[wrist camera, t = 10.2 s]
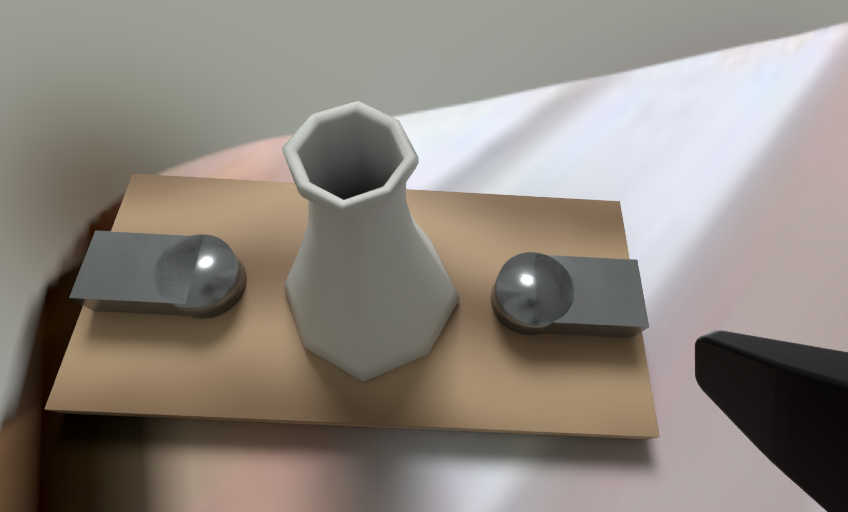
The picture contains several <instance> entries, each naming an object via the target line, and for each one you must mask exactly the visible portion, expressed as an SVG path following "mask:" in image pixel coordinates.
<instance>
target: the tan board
mask: <svg viewBox="0 0 848 512" xmlns="http://www.w3.org/2000/svg"><path fill="white" fill-rule="evenodd" d="M406 202H407V205H408V208H409V211H410V214H411V216H412V217H413V219H414V220H415V222H416V223H417V224H418V226H419V227H420V228H421V229H422V230H423V232H424V233H425V234H426V235H427V236H428V238H429V239H430V240H431V242H432V243H433V245H434V247H435V249H436V251H437V253H438V255H439V257H440V259H441V261H442V263H443V265H444V267H445V269H446V271H447V273H448V275H449V277H450V279H451V281H452V283H453V285H454V287H455V289H456V291H457V293H458V295H459V297H460V299H459V301H458V303H457V304H456V306H455V308H454V310H453V311H452V313H451V315H450V317H449V318H448V320H447V322H446V324H445V326H444V327H443V329H442V331H441V333H440V334H439V336H438V338H437V340H436V341H435V343H434V345H433V347H432V349H431V350H430V352H429V354H428V355H425V356H423V357H421V358H418V359H416V360H414V361H411V362H409V363H407V364H404V365H402V366H400V367H397V368H395V369H393V370H390V371H388V372H386V373H383V374H381V375H379V376H376V377H374V378H372V379H369V380H367V381H365V382H362V381H360V380H358V379H357V378H355V377H353V376H352V375H350V374H348V373H347V372H345V371H343V370H342V369H340V368H338V367H337V366H335V365H333V364H332V363H330V362H328V361H327V360H325V359H323V358H321V357H320V356H318V355H316V354H315V353H313V352H311V351H310V350H308V349H306V348H305V347H304V346H303V343H302V340H301V337H300V334H299V331H298V328H297V325H296V322H295V319H294V316H293V313H292V310H291V307H290V304H289V301H288V298H287V295H286V292H285V289H284V285H285V282H286V280H287V277H288V275H289V273H290V271H291V268H292V266H293V264H294V262H295V260H296V257H297V255H298V252H299V249H300V246H301V243H302V240H303V237H304V235H305V232H306V229H307V226H308V200H307V199H305V198H303V197H302V196H301V195H300V194H299V192H298V190H297V187H296V185H295V183H285V182H267V181H249V180H232V179H214V178H196V177H179V176H161V175H143V174H132V177H131V180H130V182H129V185H128V188H127V190H126V193H125V196H124V198H123V201H122V204H121V206H120V209H119V212H118V214H117V217H116V220H115V222H114V225H113V228H112V230H111V232H129V233H147V234H166V235H185V236H192V235H199V234H205V235H211V236H215V237H218V238H220V239H221V240H223V241H224V242H226V243H227V244H228V245H229V247H230V248H231V249H232V251H233V252H234V253H235V255H236V256H237V257H238V259H239V260H240V261H241V263H242V264H243V266H244V268H245V271H246V275H247V283H246V288H245V291H244V293H243V295H242V297H241V299H240V300H239V301H238V302H237V304H236V305H235V306H234V307H232V308H231V309H230V310H228V311H227V312H225V313H223V314H221V315H219V316H216V317H213V318H207V319H198V318H193V317H190V316H180V315H160V314H140V313H120V312H100V311H92V310H90V309H89V308H87V307H85V306H83V308H82V311H81V313H80V316H79V319H78V321H77V324H76V327H75V329H74V332H73V335H72V337H71V340H70V343H69V345H68V348H67V351H66V353H65V356H64V359H63V361H62V364H61V367H60V369H59V372H58V375H57V378H56V380H55V383H54V386H53V388H52V391H51V394H50V396H49V399H48V402H47V404H46V407H45V410H51V411H56V412H61V413H69V414H91V415H113V416H135V417H158V418H180V419H202V420H224V421H247V422H269V423H291V424H313V425H336V426H358V427H380V428H402V429H425V430H447V431H469V432H491V433H514V434H536V435H558V436H580V437H602V438H625V439H651V438H657V437H659V431H658V425H657V420H656V414H655V408H654V402H653V396H652V390H651V384H650V378H649V372H648V366H647V360H646V354H645V348H644V342H643V336H642V332H640V333H639V334H637V335H636V336H634V337H632V338H621V337H601V336H581V335H561V334H537V335H523V334H519V333H516V332H514V331H512V330H510V329H509V328H507V327H506V326H505V325H503V324H502V323H501V322H500V320H499V319H498V318H497V316H496V315H495V313H494V311H493V308H492V304H491V291H492V287H493V285H494V283H495V281H496V278H497V276H498V274H499V272H500V270H501V268H502V267H503V265H504V264H505V263H506V262H507V261H508V260H509V259H510V258H512V257H514V256H515V255H518V254H521V253H526V252H536V253H542V254H545V255H556V256H575V257H594V258H612V259H629V253H628V247H627V241H626V235H625V230H624V224H623V218H622V212H621V206H620V201H603V200H585V199H567V198H550V197H532V196H514V195H497V194H479V193H461V192H444V191H426V190H408V189H406Z"/></svg>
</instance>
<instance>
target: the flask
mask: <svg viewBox="0 0 848 512" xmlns="http://www.w3.org/2000/svg"><path fill="white" fill-rule="evenodd" d="M282 150H283V153H284V156H285V159H286V161H287V164H288V166H289V169H290V172H291V174H292V177H293V179H294V182H295V185H296V187H297V190H298V192H299V194H300V195H301V196H302V197H303V198H305V199H307V200H308V226H307V229H306V232H305V235H304V237H303V240H302V243H301V246H300V249H299V252H298V255H297V257H296V260H295V262H294V264H293V266H292V268H291V271H290V273H289V275H288V277H287V280H286V282H285V285H284V289H285V292H286V295H287V298H288V301H289V304H290V307H291V310H292V313H293V316H294V319H295V322H296V325H297V328H298V331H299V334H300V337H301V340H302V343H303V346H304V347H305V348H306V349H308V350H310V351H311V352H313V353H315V354H316V355H318V356H320V357H321V358H323V359H325V360H327V361H328V362H330V363H332V364H333V365H335V366H337V367H338V368H340V369H342V370H343V371H345V372H347V373H348V374H350V375H352V376H353V377H355V378H357V379H358V380H360V381H362V382H365V381H367V380H369V379H372V378H374V377H376V376H379V375H381V374H383V373H386V372H388V371H390V370H393V369H395V368H397V367H400V366H402V365H404V364H407V363H409V362H411V361H414V360H416V359H418V358H421V357H423V356H425V355H428V354H429V352H430V350H431V349H432V347H433V345H434V343H435V341H436V340H437V338H438V336H439V334H440V333H441V331H442V329H443V327H444V326H445V324H446V322H447V320H448V318H449V317H450V315H451V313H452V311H453V310H454V308H455V306H456V304H457V303H458V301H459V299H460V297H459V295H458V293H457V291H456V289H455V287H454V285H453V283H452V281H451V279H450V277H449V275H448V273H447V271H446V269H445V267H444V265H443V263H442V261H441V259H440V257H439V255H438V253H437V251H436V249H435V247H434V245H433V243H432V242H431V240H430V239H429V238H428V236H427V235H426V234H425V233H424V232H423V230H422V229H421V228H420V227H419V226H418V224H417V223H416V222H415V220H414V219H413V217H412V216H411V214H410V211H409V208H408V205H407V202H406V181H407V180H408V179H409V177H410V176H411V174H412V173H413V171H414V170H415V169H416V167H417V165H418V156H417V154H416V152H415V150H414V148H413V146H412V144H411V142H410V141H409V139H408V137H407V135H406V133H405V131H404V129H403V127H402V125H401V124H400V122H399V120H397V119H395V118H393V117H391V116H388V115H386V114H384V113H382V112H380V111H378V110H376V109H374V108H372V107H369V106H367V105H365V104H363V103H361V102H359V101H356V102H353V103H350V104H346V105H342V106H339V107H336V108H332V109H329V110H325V111H322V112H319V113H315V114H312V115H311V116H310V117H309V118H308V119H307V120H306V122H305V123H304V124H303V125H302V126H301V127H300V128H299V129H298V131H297V132H296V133H295V134H294V135H293V136H292V137H291V138H290V140H289V141H288V142H287V143H286V144H285V145H284V146H283V147H282Z"/></svg>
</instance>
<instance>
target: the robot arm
mask: <svg viewBox="0 0 848 512" xmlns="http://www.w3.org/2000/svg"><path fill="white" fill-rule="evenodd" d="M695 377H696V380H697V383H698V385H699V386H700V388H701V389H702V390H703V391H704V392H705V393H706V394H707V396H708V397H709V398H710V399H711V400H712V401H713V402H714V403H715V404H716V405H717V406H718V407H719V408H720V409H721V410H722V411H723V412H724V413H725V414H726V415H727V417H728V418H729V419H730V420H731V421H732V422H733V423H734V424H735V425H736V426H737V427H738V428H739V429H740V430H741V431H742V432H743V433H744V434H745V435H746V436H747V437H748V439H749V440H750V441H751V442H752V443H753V444H754V445H755V446H756V447H757V448H758V449H759V450H760V451H761V452H762V453H763V454H764V455H765V456H766V457H767V458H768V459H769V460H770V461H771V462H772V463H773V464H774V465H776V466H777V467H778V468H779V469H780V470H781V471H782V472H783V473H784V474H785V475H786V476H788V477H789V478H790V479H791V480H792V481H793V482H794V483H795V484H797V485H798V486H799V487H800V488H801V489H802V490H803V491H804V492H806V493H807V494H808V495H809V496H810V497H811V498H812V499H813V500H815V501H816V502H817V503H818V504H819V505H820V506H821V507H822V508H824V509H825V510H826V511H827V512H848V352H843V351H837V350H831V349H825V348H820V347H814V346H808V345H802V344H797V343H791V342H785V341H779V340H773V339H768V338H762V337H756V336H750V335H745V334H739V333H733V332H727V331H714V332H711V333H709V334H706V335H703V336H701V337H699V338H698V339H697V341H696V343H695Z"/></svg>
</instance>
